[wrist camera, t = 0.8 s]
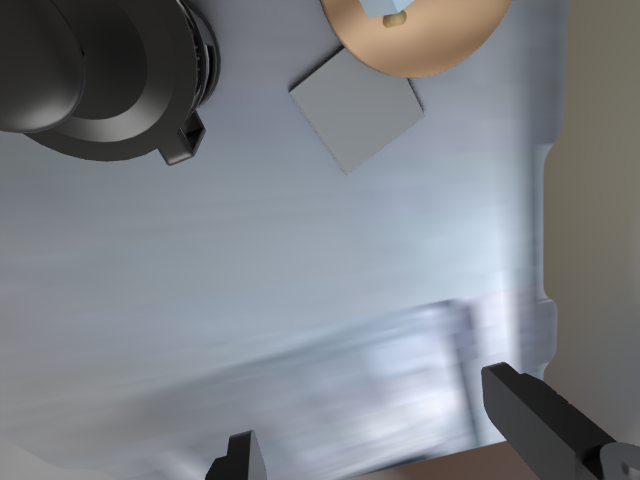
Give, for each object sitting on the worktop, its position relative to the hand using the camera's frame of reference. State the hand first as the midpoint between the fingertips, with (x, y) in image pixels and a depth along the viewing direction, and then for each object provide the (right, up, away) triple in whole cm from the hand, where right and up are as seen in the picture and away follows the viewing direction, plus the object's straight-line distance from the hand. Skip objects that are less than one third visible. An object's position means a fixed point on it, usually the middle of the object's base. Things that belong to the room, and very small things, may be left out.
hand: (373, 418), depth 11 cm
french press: (-15, +21, +17) cm, 31 cm away
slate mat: (+2, +19, +22) cm, 30 cm away
